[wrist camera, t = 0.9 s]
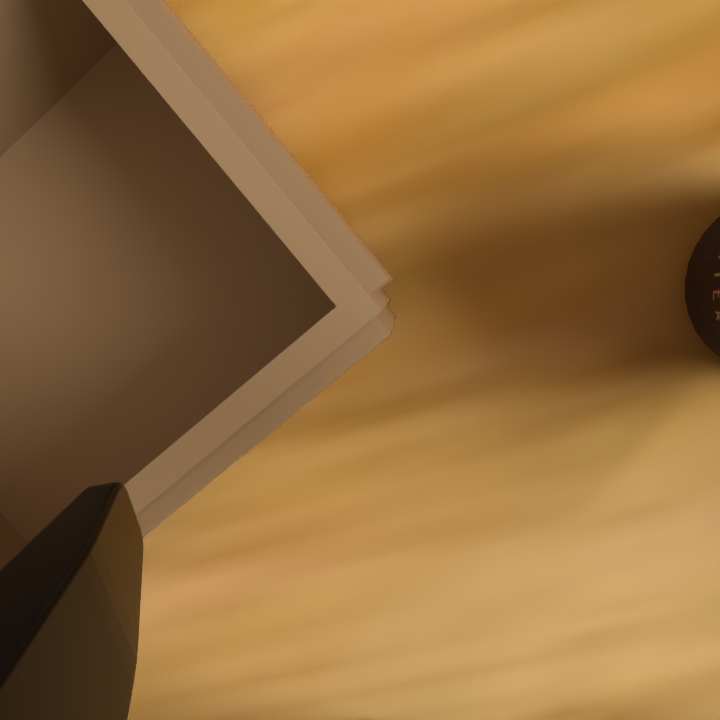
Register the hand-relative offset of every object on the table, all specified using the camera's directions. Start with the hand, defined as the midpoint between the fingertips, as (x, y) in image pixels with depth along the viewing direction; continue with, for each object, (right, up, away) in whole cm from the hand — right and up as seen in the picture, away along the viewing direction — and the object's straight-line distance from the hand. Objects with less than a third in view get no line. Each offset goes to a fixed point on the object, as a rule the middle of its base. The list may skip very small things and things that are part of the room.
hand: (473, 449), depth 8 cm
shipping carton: (-12, +3, +16) cm, 20 cm away
